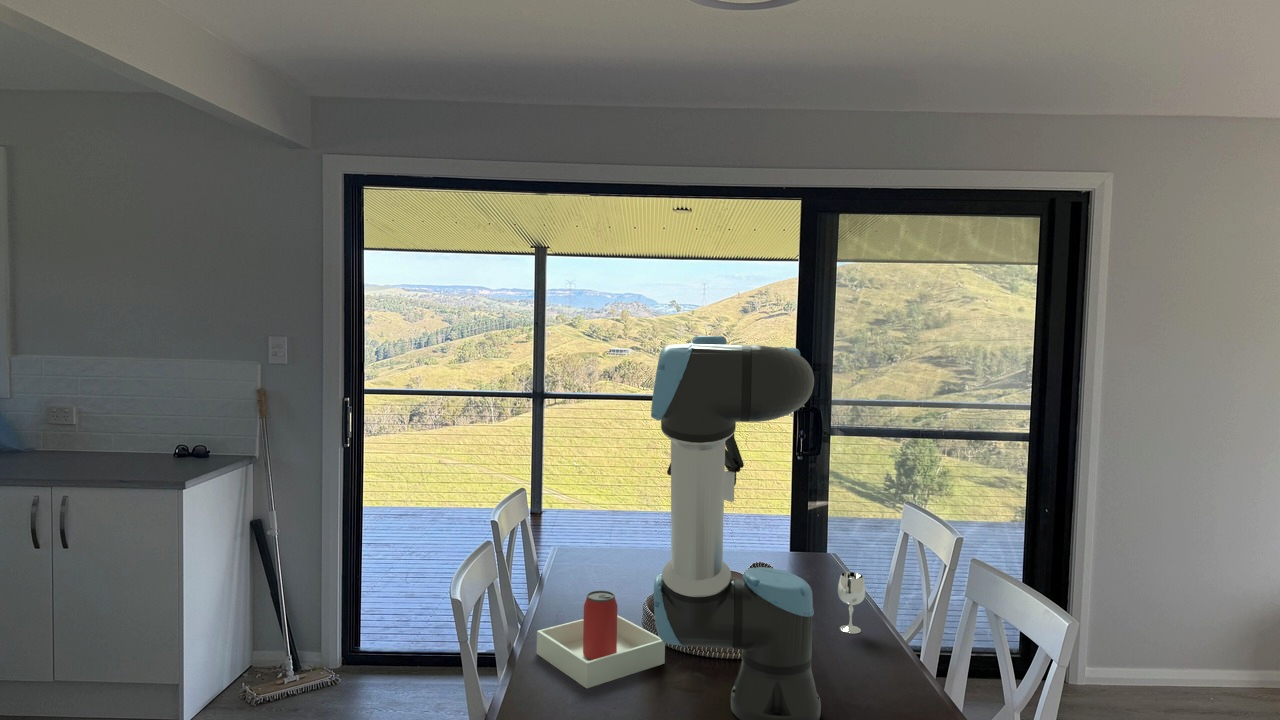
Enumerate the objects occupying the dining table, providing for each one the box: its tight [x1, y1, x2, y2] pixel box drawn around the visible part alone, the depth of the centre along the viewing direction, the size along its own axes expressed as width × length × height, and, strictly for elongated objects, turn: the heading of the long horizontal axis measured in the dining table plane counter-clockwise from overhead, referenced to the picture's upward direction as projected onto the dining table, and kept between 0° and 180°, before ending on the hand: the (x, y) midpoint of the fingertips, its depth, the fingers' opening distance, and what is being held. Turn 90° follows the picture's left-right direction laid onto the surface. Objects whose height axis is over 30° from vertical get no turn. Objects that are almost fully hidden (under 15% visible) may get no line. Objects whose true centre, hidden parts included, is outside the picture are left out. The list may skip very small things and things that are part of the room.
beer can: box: [583, 590, 618, 660], centre depth 151 cm, size 7×7×12 cm
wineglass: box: [837, 571, 866, 635], centre depth 168 cm, size 6×6×12 cm
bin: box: [536, 614, 666, 689], centre depth 151 cm, size 18×18×5 cm
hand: (705, 504), depth 168 cm, fingers open, 13 cm apart
